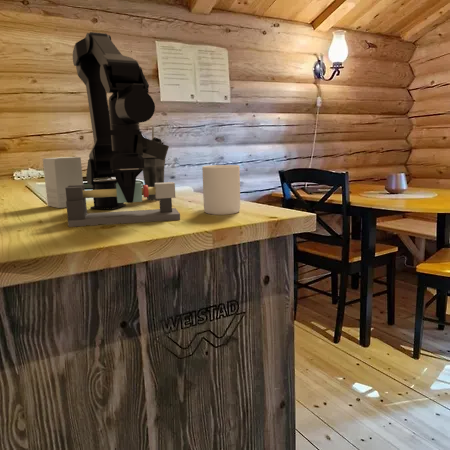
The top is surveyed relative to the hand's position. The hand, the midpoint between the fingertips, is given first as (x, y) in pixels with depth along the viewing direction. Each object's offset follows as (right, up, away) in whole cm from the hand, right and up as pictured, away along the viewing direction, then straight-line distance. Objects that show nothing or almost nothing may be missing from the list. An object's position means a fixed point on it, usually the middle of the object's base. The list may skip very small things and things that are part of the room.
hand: (130, 201), depth 88 cm
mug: (+18, -2, +9) cm, 21 cm away
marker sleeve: (0, 0, 0) cm, 0 cm away
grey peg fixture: (-1, -4, +1) cm, 4 cm away
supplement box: (-22, 0, +23) cm, 32 cm away
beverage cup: (0, +2, +31) cm, 31 cm away
